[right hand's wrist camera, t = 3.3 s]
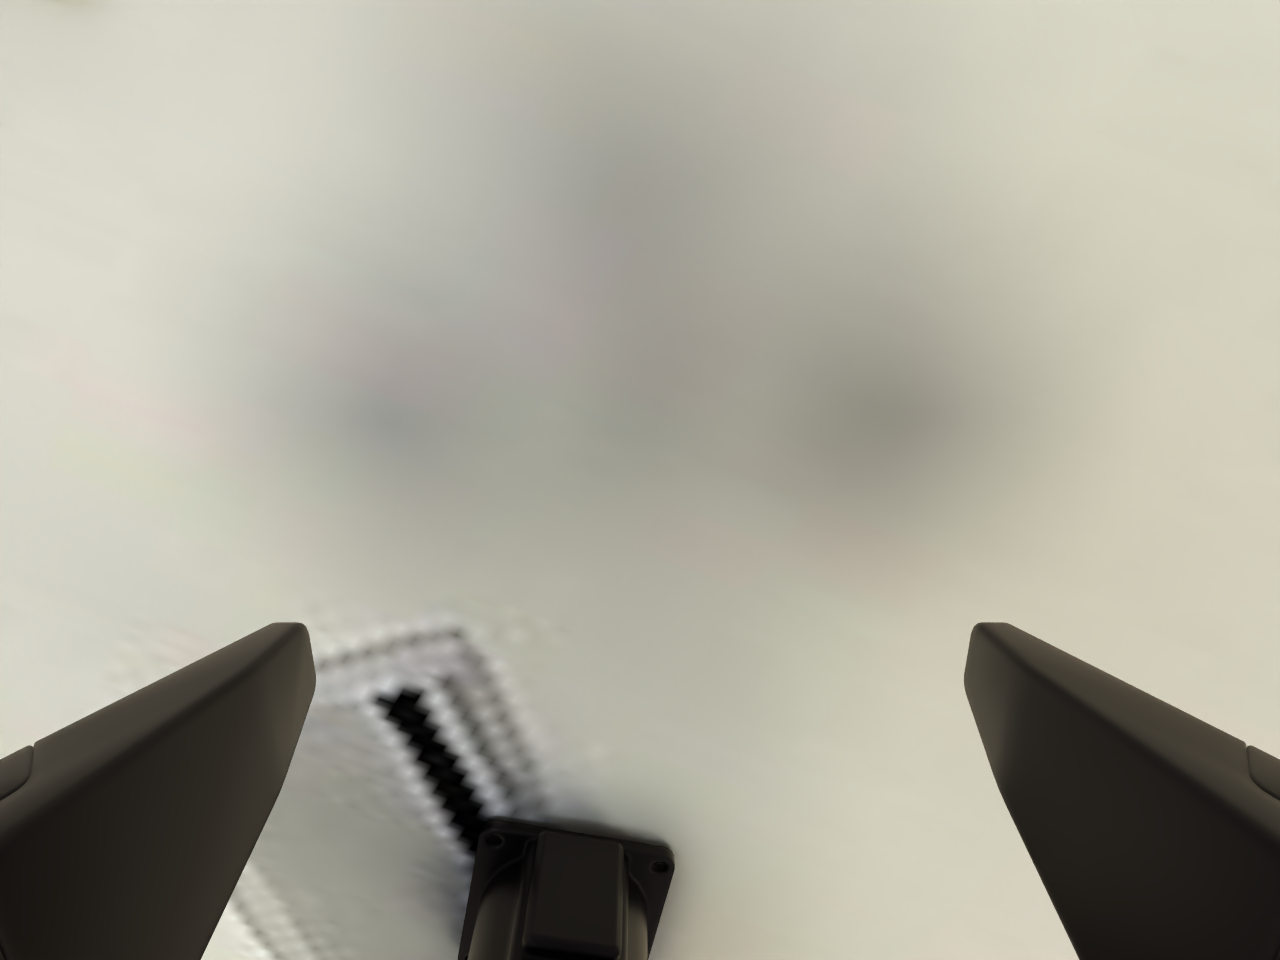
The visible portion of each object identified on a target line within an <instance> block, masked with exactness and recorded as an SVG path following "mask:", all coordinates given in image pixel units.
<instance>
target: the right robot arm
mask: <svg viewBox="0 0 1280 960" xmlns="http://www.w3.org/2000/svg"><path fill="white" fill-rule="evenodd" d="M315 686H316V673H315V667H314V661H313V655H312V649H311V643H310V638H309V633H308V630H307V628H306V626H305V625H304V624H302V623H272V624H270V625H268V626H266V627H264V628H262V629H260V630H258V631H256V632H254V633H252V634H250V635H248V636H246V637H244V638H242V639H240V640H238V641H236V642H234V643H232V644H230V645H228V646H226V647H224V648H222V649H220V650H218V651H216V652H214V653H212V654H210V655H208V656H206V657H204V658H202V659H200V660H198V661H196V662H194V663H192V664H190V665H188V666H186V667H184V668H182V669H180V670H178V671H176V672H174V673H172V674H170V675H168V676H166V677H164V678H162V679H160V680H158V681H156V682H154V683H152V684H150V685H148V686H146V687H144V688H142V689H140V690H138V691H136V692H134V693H132V694H130V695H128V696H126V697H124V698H122V699H120V700H118V701H116V702H114V703H112V704H110V705H108V706H106V707H104V708H102V709H100V710H98V711H96V712H94V713H92V714H90V715H88V716H86V717H84V718H82V719H80V720H79V721H77V722H75V723H73V724H71V725H69V726H67V727H65V728H63V729H61V730H59V731H57V732H55V733H53V734H51V735H49V736H47V737H45V738H43V739H41V740H39V741H37V742H35V743H34V748H33V747H32V746H26V747H24V748H22V749H20V750H18V751H16V752H14V753H12V754H10V755H9V756H7V757H5V758H3V759H1V760H0V960H201V958H202V955H203V953H204V951H205V949H206V947H207V945H208V943H209V941H210V939H211V937H212V934H213V932H214V930H215V928H216V926H217V924H218V922H219V920H220V918H221V916H222V913H223V911H224V909H225V907H226V905H227V903H228V901H229V899H230V897H231V894H232V892H233V890H234V888H235V886H236V884H237V882H238V880H239V878H240V876H241V873H242V871H243V869H244V867H245V865H246V863H247V861H248V859H249V857H250V855H251V852H252V850H253V848H254V846H255V844H256V842H257V840H258V838H259V836H260V833H261V831H262V829H263V827H264V825H265V823H266V821H267V819H268V817H269V815H270V812H271V810H272V808H273V806H274V804H275V802H276V799H277V797H278V795H279V793H280V790H281V788H282V785H283V783H284V780H285V777H286V775H287V772H288V769H289V766H290V763H291V760H292V757H293V754H294V751H295V748H296V745H297V742H298V739H299V736H300V733H301V730H302V727H303V724H304V721H305V719H306V716H307V713H308V710H309V707H310V704H311V701H312V698H313V695H314V691H315ZM964 686H965V691H966V695H967V698H968V701H969V704H970V707H971V710H972V713H973V716H974V719H975V722H976V724H977V727H978V730H979V733H980V736H981V739H982V742H983V745H984V748H985V751H986V754H987V757H988V760H989V763H990V766H991V769H992V772H993V775H994V777H995V780H996V783H997V785H998V788H999V790H1000V793H1001V795H1002V797H1003V799H1004V802H1005V804H1006V806H1007V808H1008V810H1009V812H1010V815H1011V817H1012V819H1013V821H1014V823H1015V825H1016V827H1017V829H1018V831H1019V833H1020V836H1021V838H1022V840H1023V842H1024V844H1025V846H1026V848H1027V850H1028V852H1029V855H1030V857H1031V859H1032V861H1033V863H1034V865H1035V867H1036V869H1037V871H1038V873H1039V876H1040V878H1041V880H1042V882H1043V884H1044V886H1045V888H1046V890H1047V892H1048V894H1049V897H1050V899H1051V901H1052V903H1053V905H1054V907H1055V909H1056V911H1057V913H1058V916H1059V918H1060V920H1061V922H1062V924H1063V926H1064V928H1065V930H1066V932H1067V934H1068V937H1069V939H1070V941H1071V943H1072V945H1073V947H1074V949H1075V951H1076V953H1077V956H1078V958H1079V960H1280V760H1279V759H1277V758H1275V757H1273V756H1271V755H1269V754H1268V753H1266V752H1264V751H1262V750H1260V749H1258V748H1256V747H1254V746H1248V747H1247V748H1246V743H1245V742H1243V741H1241V740H1239V739H1237V738H1235V737H1233V736H1231V735H1229V734H1227V733H1225V732H1223V731H1221V730H1219V729H1217V728H1215V727H1213V726H1211V725H1209V724H1207V723H1205V722H1203V721H1201V720H1200V719H1198V718H1196V717H1194V716H1192V715H1190V714H1188V713H1186V712H1184V711H1182V710H1180V709H1178V708H1176V707H1174V706H1172V705H1170V704H1168V703H1166V702H1164V701H1162V700H1160V699H1158V698H1156V697H1154V696H1152V695H1150V694H1148V693H1146V692H1144V691H1142V690H1140V689H1138V688H1136V687H1134V686H1132V685H1130V684H1128V683H1126V682H1124V681H1122V680H1120V679H1118V678H1116V677H1114V676H1112V675H1110V674H1108V673H1106V672H1104V671H1102V670H1100V669H1098V668H1096V667H1094V666H1092V665H1090V664H1088V663H1086V662H1084V661H1082V660H1080V659H1078V658H1076V657H1074V656H1072V655H1070V654H1068V653H1066V652H1064V651H1062V650H1060V649H1058V648H1056V647H1054V646H1052V645H1050V644H1048V643H1046V642H1044V641H1042V640H1040V639H1038V638H1036V637H1034V636H1032V635H1030V634H1028V633H1026V632H1024V631H1022V630H1020V629H1018V628H1016V627H1014V626H1012V625H1010V624H1008V623H978V624H976V625H975V626H974V628H973V630H972V633H971V638H970V643H969V649H968V655H967V661H966V667H965V673H964ZM491 835H496V836H499V838H494V837H492V836H491ZM659 861H662V862H663V863H655V862H659ZM673 873H674V854H673V853H672V851H671V850H669V849H668V848H666V847H663V846H656V845H650V844H644V843H638V842H631V841H625V840H619V839H613V838H606V837H600V836H594V835H588V834H581V833H575V832H569V831H563V830H556V829H550V828H544V827H537V826H531V825H525V824H519V823H512V822H506V821H500V820H491V821H488V822H486V823H485V824H484V825H483V826H482V829H481V832H480V836H479V841H478V847H477V853H476V858H475V864H474V869H473V875H472V881H471V886H470V892H469V898H468V903H467V909H466V915H465V920H464V926H463V931H462V937H461V943H460V948H459V954H458V960H648V958H649V954H650V951H651V947H652V944H653V941H654V937H655V934H656V930H657V927H658V924H659V920H660V917H661V913H662V910H663V907H664V903H665V900H666V896H667V893H668V890H669V886H670V883H671V879H672V876H673Z"/></svg>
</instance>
